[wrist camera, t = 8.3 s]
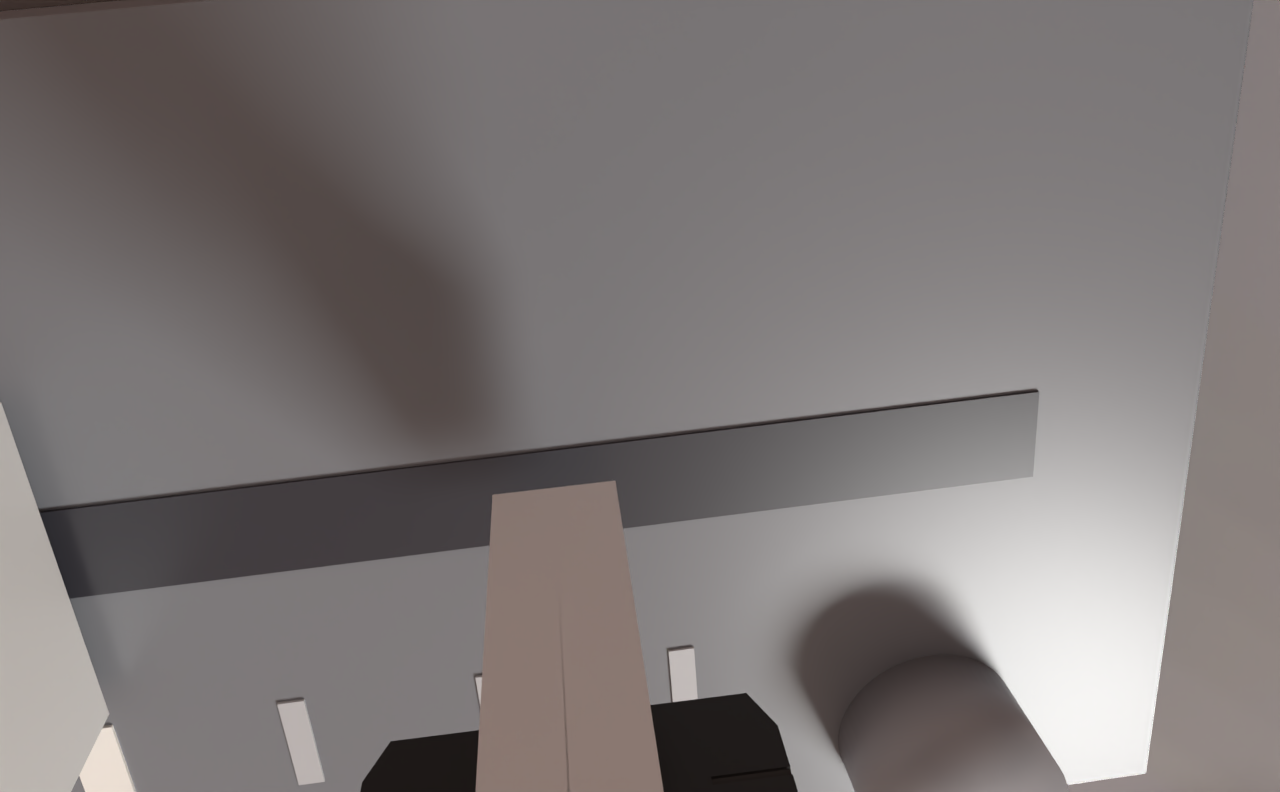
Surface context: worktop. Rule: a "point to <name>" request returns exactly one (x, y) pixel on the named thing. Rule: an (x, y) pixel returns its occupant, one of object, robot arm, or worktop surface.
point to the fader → (39, 650)
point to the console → (616, 360)
